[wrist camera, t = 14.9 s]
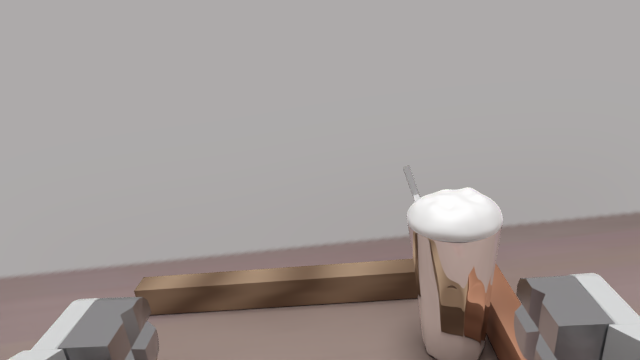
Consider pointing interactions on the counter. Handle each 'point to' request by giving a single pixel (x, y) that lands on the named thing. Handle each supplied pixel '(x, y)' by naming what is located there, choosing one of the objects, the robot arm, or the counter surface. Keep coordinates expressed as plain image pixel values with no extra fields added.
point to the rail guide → (318, 292)
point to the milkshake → (453, 267)
